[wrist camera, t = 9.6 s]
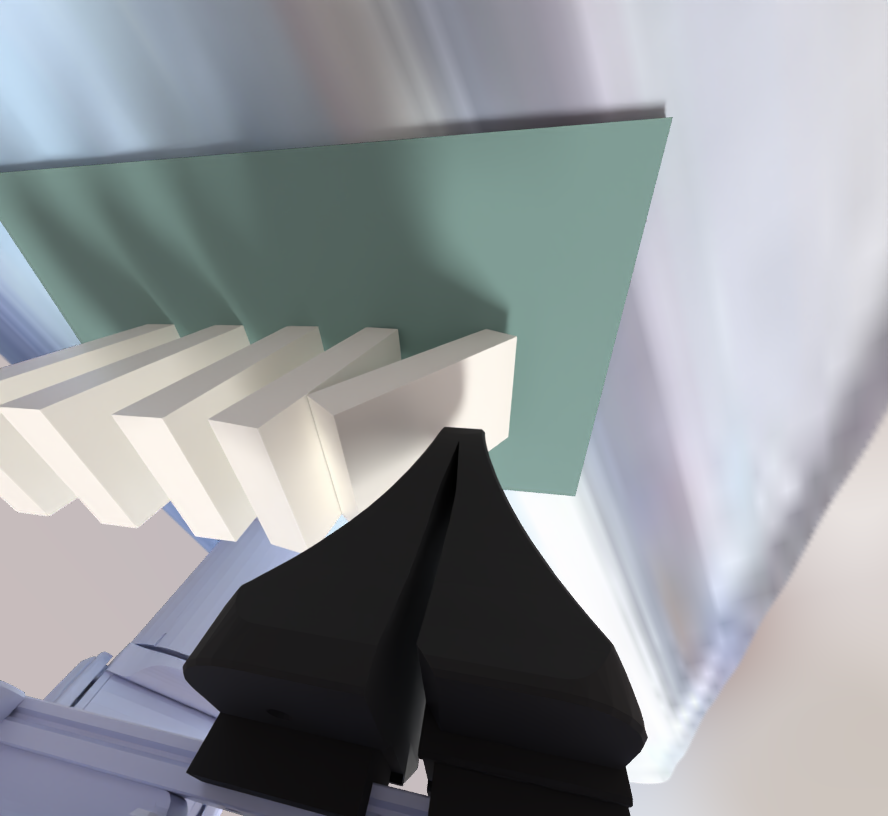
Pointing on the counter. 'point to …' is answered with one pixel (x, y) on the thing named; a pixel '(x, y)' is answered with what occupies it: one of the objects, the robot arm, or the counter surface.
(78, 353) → the end domino
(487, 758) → the robot arm
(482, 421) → the domino
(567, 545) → the counter surface
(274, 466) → the domino
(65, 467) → the domino
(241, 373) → the domino
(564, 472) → the mat
